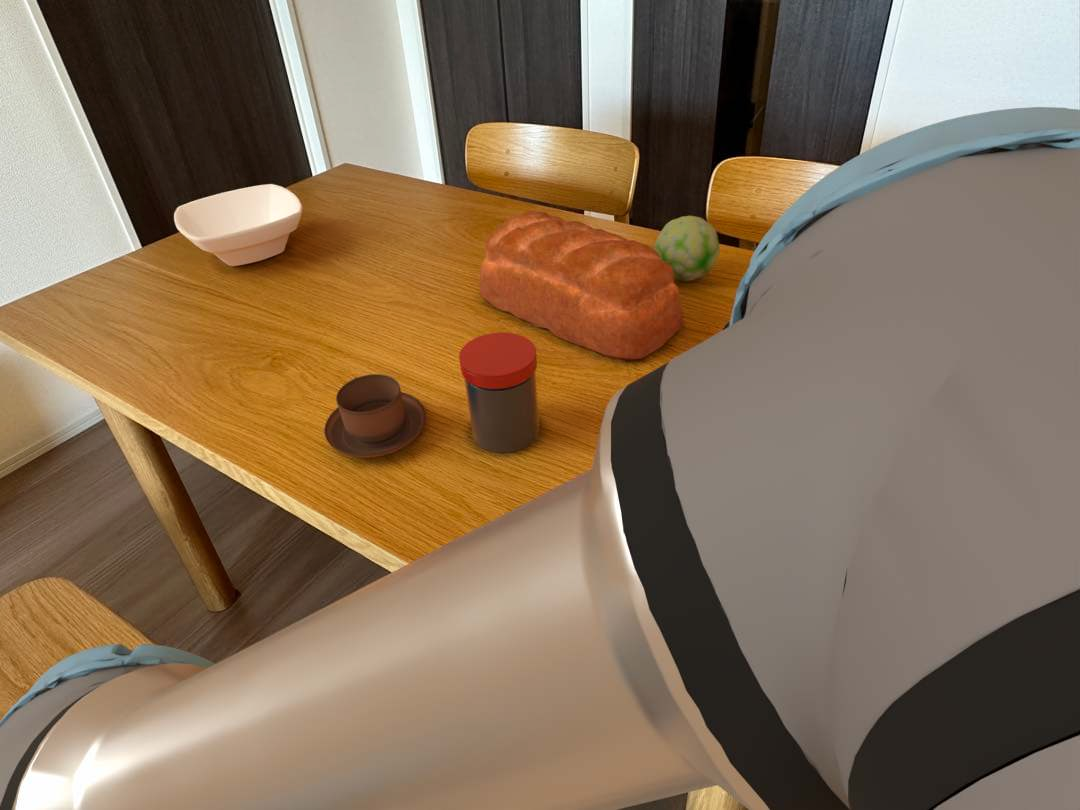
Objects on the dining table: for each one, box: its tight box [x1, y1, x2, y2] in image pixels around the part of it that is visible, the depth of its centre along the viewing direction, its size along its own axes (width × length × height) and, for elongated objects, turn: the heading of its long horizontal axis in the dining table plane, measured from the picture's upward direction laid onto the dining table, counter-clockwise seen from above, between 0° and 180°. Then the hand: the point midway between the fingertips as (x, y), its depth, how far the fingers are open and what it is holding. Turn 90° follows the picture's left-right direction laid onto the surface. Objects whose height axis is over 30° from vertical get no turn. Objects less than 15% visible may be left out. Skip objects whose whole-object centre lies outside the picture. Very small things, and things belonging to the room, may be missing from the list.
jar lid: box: [458, 331, 538, 389], centre depth 77 cm, size 9×8×2 cm
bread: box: [478, 210, 684, 361], centre depth 100 cm, size 16×31×13 cm, turn 47°
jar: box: [463, 371, 540, 454], centre depth 80 cm, size 8×8×10 cm
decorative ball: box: [654, 215, 721, 283], centre depth 108 cm, size 10×10×10 cm
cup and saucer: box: [324, 373, 427, 459], centre depth 82 cm, size 12×12×6 cm
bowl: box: [173, 183, 304, 267], centre depth 123 cm, size 21×21×9 cm
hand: (928, 577), depth 44 cm, fingers open, 13 cm apart
